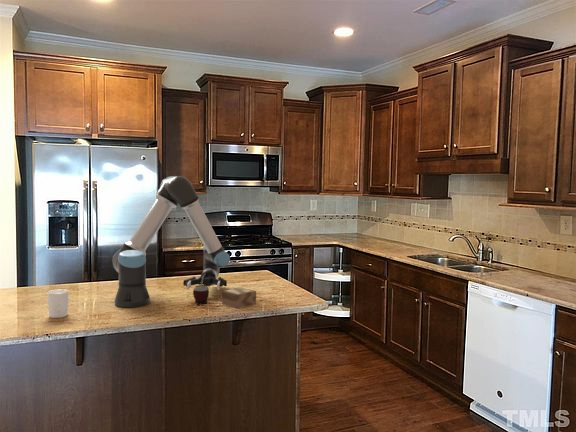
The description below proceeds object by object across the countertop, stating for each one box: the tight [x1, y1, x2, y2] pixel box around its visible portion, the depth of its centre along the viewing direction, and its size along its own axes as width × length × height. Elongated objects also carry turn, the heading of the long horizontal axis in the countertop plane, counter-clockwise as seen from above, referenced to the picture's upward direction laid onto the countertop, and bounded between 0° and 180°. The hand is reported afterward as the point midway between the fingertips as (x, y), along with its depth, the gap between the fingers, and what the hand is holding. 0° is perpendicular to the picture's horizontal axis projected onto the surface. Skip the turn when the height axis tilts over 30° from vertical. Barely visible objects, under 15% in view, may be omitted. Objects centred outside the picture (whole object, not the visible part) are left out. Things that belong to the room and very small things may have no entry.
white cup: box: [46, 289, 70, 319], centre depth 189 cm, size 8×8×10 cm
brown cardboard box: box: [221, 286, 257, 310], centre depth 212 cm, size 11×11×6 cm
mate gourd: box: [192, 273, 210, 306], centre depth 211 cm, size 8×8×15 cm
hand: (202, 286), depth 210 cm, fingers open, 13 cm apart
